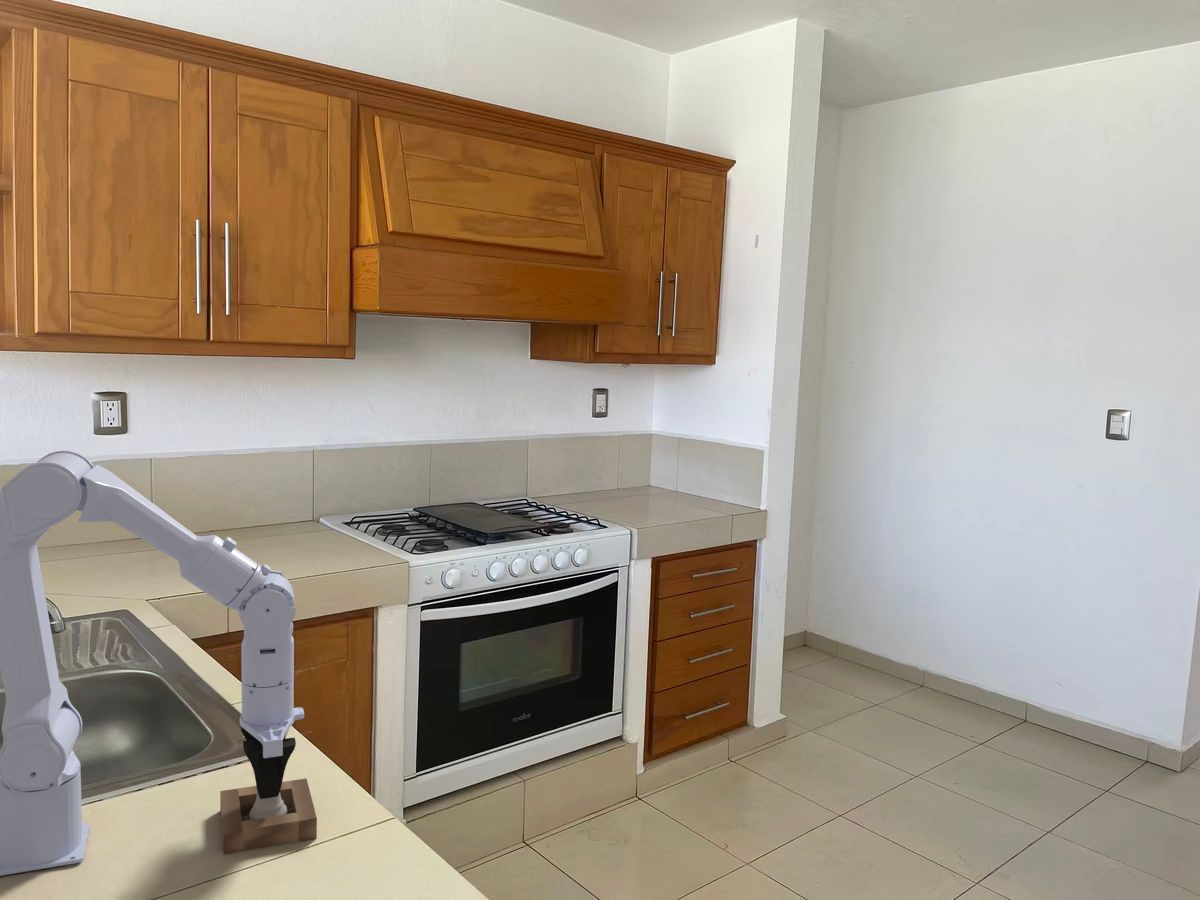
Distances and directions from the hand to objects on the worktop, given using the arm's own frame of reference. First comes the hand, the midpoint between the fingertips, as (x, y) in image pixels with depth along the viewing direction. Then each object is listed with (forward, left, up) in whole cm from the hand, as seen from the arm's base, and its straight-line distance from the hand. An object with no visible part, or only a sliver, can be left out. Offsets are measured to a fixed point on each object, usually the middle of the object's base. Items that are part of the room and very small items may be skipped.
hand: (267, 788), depth 109 cm
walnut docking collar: (0, 0, -4) cm, 4 cm away
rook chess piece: (0, 0, -5) cm, 5 cm away
